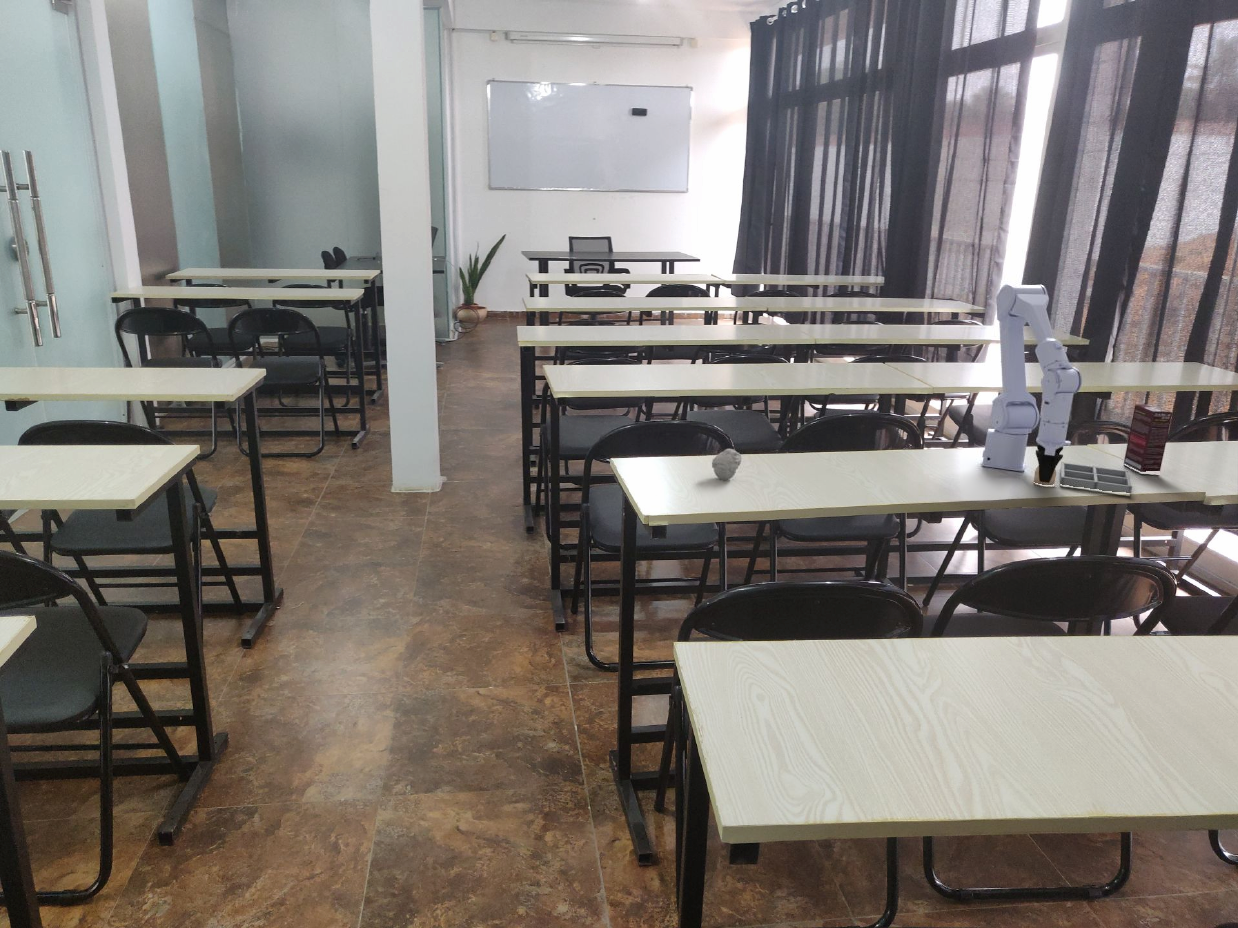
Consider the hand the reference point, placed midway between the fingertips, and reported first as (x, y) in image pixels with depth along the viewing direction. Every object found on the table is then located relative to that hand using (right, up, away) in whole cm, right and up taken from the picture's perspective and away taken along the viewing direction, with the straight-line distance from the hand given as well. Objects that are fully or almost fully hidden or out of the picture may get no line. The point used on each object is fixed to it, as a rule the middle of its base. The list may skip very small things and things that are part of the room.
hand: (1044, 478), depth 205 cm
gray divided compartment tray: (+12, -1, +2) cm, 13 cm away
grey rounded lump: (-74, 0, -3) cm, 74 cm away
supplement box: (+31, +2, +14) cm, 34 cm away
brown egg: (0, -1, 0) cm, 2 cm away
